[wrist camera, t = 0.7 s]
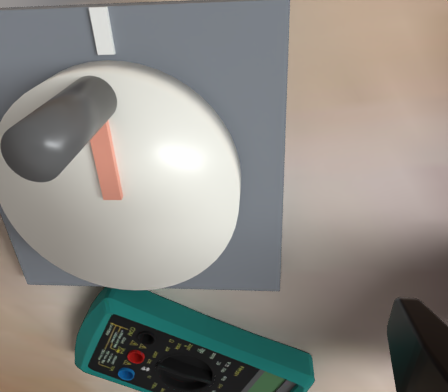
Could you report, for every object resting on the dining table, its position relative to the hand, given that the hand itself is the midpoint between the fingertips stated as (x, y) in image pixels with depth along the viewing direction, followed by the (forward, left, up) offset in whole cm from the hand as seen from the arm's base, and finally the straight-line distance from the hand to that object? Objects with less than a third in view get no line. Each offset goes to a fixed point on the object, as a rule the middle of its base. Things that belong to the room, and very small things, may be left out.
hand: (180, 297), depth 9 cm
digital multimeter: (+3, +17, -13) cm, 21 cm away
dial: (+5, +3, -11) cm, 12 cm away
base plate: (+5, +3, -12) cm, 13 cm away
